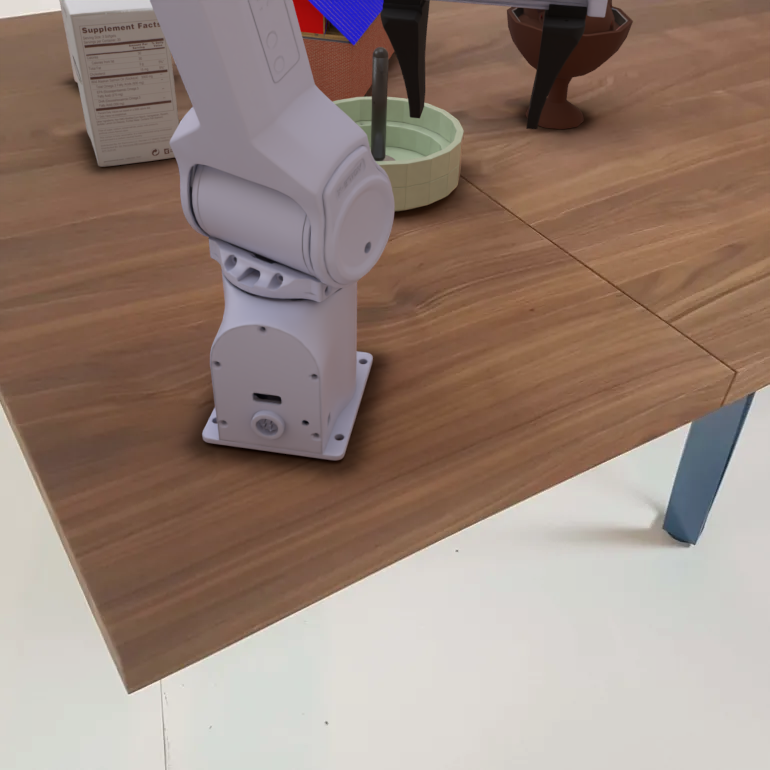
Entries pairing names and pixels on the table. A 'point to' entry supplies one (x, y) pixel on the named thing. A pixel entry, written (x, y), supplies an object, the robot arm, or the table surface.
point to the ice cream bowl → (586, 57)
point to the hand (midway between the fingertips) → (474, 117)
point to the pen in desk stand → (379, 104)
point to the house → (342, 43)
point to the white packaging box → (123, 79)
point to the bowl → (414, 149)
